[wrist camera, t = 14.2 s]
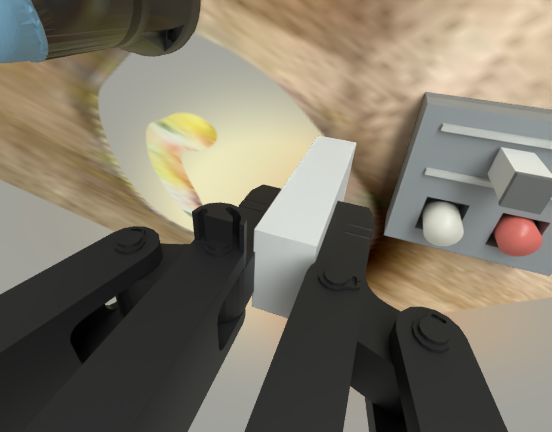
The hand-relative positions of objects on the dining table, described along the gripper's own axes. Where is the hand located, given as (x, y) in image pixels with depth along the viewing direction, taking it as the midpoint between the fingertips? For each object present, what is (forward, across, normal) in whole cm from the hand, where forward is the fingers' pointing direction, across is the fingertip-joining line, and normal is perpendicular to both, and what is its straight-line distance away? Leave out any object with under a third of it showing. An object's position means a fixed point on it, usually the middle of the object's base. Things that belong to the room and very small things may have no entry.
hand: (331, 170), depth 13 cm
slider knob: (+24, +15, -7) cm, 29 cm away
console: (+29, +15, -11) cm, 35 cm away
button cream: (+25, +11, -15) cm, 31 cm away
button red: (+27, +19, -15) cm, 36 cm away
